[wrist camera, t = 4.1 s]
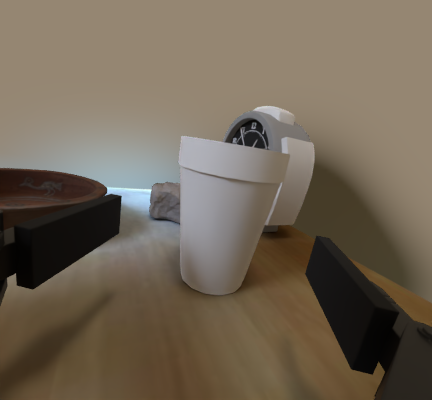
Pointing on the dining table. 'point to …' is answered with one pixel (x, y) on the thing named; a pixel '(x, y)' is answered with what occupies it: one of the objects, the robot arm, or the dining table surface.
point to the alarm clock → (285, 143)
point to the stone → (165, 201)
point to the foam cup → (223, 209)
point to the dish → (42, 193)
